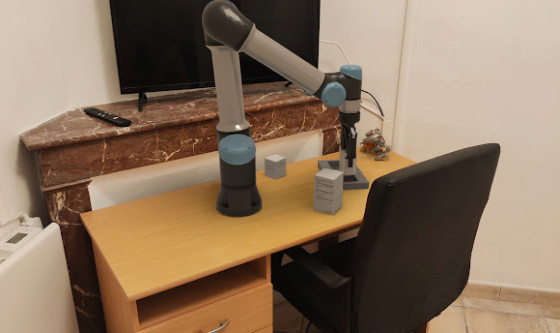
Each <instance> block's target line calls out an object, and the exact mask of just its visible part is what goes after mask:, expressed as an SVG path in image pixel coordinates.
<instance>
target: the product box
mask: <svg viewBox="0 0 560 333" xmlns="http://www.w3.org/2000/svg"><path fill="white" fill-rule="evenodd" d="M286 175H287V157H285V156H282V155H279V154H276V153H275V154H271V155H270V156H266V157H264V176H265V177H268V178H271V179H273V178H274V180H278V179H281V178H282V177H284V176H286Z"/></svg>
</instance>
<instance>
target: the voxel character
mask: <svg viewBox="0 0 560 333" xmlns="http://www.w3.org/2000/svg"><path fill="white" fill-rule="evenodd" d="M364 135H365V138H363V139H362V141H361V142H360V143H359V145H360V147H359V150H360V151H363V152H364V153H366V151H368V152H369V153H372V152H375V154H376V155H377V157H375V158H374V159H373V161H378V160H381V159H383V158H386V157H388V156H389V153H390V152H391V145H386V140H385V138H384V136H383V131H382V130H381V128H378V127H376V128H374V130H373V129H370V130H369V131H367V132H366V133H365V134H364ZM376 135H377V136H376ZM384 148H385V151H384ZM378 154H379V155H378Z"/></svg>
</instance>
